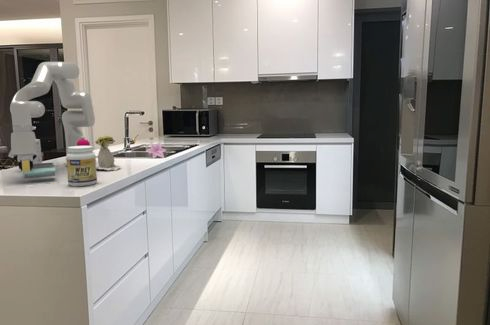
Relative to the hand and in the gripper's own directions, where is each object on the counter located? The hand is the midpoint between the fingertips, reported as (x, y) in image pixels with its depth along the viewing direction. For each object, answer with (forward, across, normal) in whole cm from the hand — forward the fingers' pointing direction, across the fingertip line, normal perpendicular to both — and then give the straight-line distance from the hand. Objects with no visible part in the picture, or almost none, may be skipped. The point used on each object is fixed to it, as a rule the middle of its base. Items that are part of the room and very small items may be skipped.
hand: (26, 169), depth 181 cm
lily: (+6, -73, -51) cm, 89 cm away
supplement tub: (+7, -22, +14) cm, 27 cm away
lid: (+1, -5, 0) cm, 5 cm away
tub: (+6, -5, -15) cm, 17 cm away
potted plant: (+7, -38, -20) cm, 44 cm away
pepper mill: (+7, -25, -5) cm, 27 cm away
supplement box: (+7, -1, -33) cm, 34 cm away
